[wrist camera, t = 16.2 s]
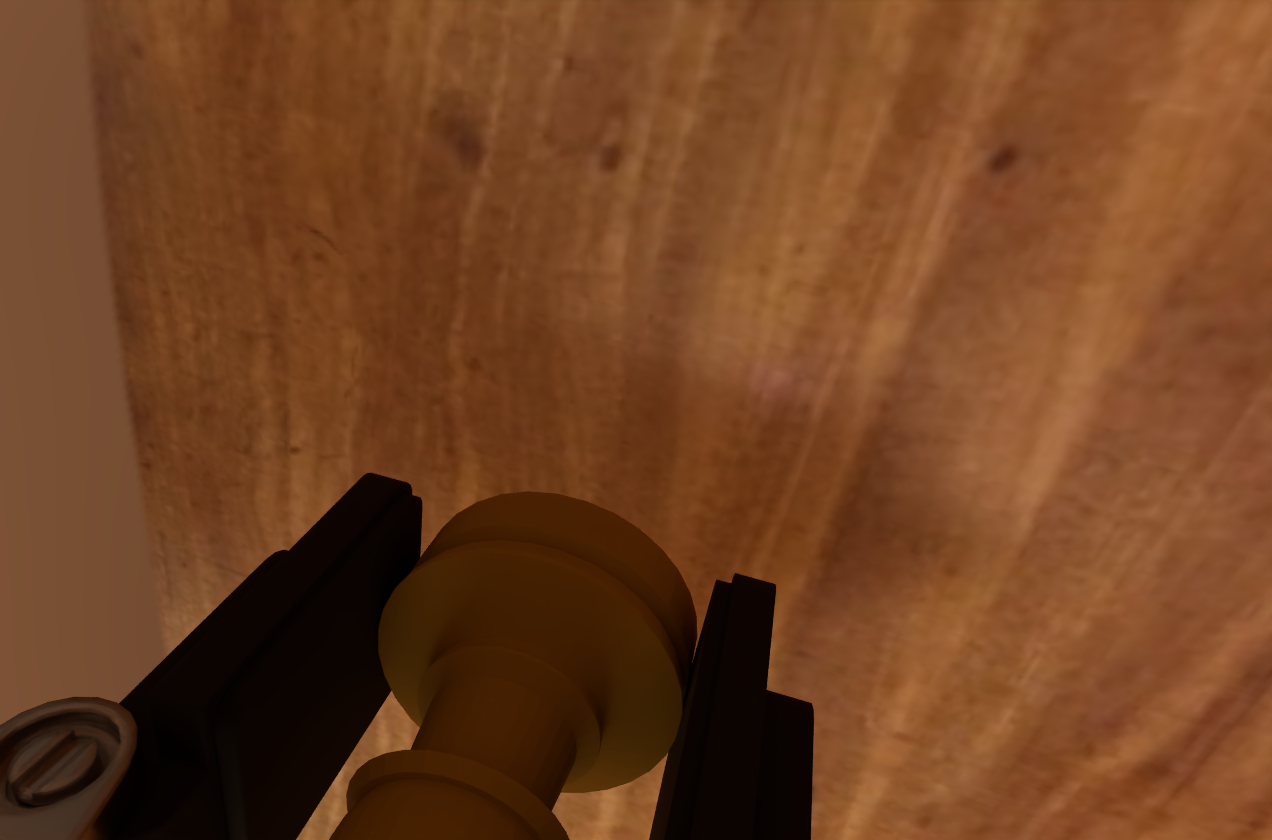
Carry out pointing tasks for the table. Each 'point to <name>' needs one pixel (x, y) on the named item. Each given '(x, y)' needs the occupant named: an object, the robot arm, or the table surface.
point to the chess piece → (525, 671)
